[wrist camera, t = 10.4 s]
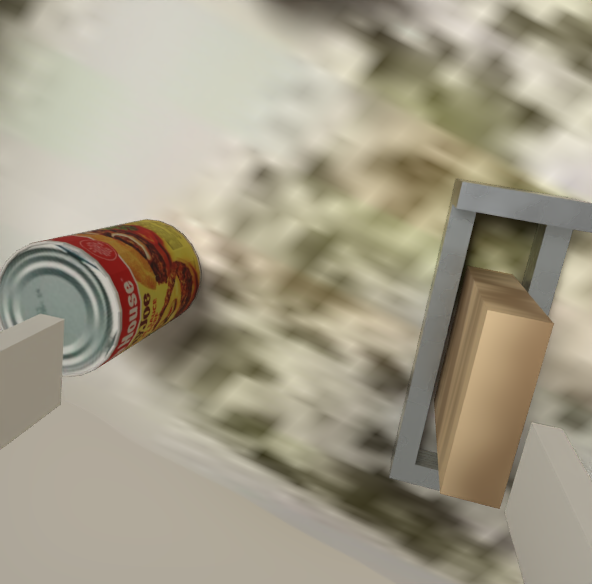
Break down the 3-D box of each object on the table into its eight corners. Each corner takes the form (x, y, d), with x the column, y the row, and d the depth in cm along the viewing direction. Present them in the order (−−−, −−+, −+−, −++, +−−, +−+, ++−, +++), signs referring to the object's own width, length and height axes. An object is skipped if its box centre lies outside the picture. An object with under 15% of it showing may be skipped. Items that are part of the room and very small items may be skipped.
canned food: (162, 341, 44) (72, 404, 33) (87, 274, 44) (-29, 313, 33) (221, 267, 42) (146, 308, 30) (142, 197, 42) (37, 210, 30)
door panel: (434, 400, 41) (440, 493, 29) (466, 265, 38) (487, 310, 27) (476, 409, 40) (499, 508, 29) (512, 274, 38) (553, 323, 26)
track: (390, 460, 42) (386, 507, 37) (455, 178, 37) (462, 181, 31) (489, 485, 41) (500, 538, 35) (570, 198, 36) (600, 205, 30)
